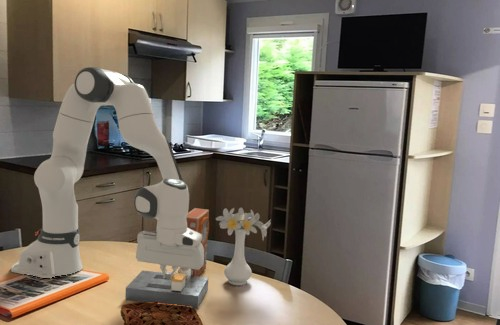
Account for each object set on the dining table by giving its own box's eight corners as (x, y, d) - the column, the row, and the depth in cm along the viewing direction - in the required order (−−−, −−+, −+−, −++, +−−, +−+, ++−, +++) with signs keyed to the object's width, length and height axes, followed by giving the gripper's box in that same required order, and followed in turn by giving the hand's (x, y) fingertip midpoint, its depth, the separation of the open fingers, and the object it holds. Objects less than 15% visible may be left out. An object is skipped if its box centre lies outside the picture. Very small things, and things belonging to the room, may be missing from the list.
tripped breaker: (171, 290, 138) (171, 278, 138) (175, 284, 143) (175, 273, 142) (181, 291, 138) (181, 279, 138) (185, 285, 142) (185, 274, 142)
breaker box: (125, 300, 139) (125, 275, 138) (142, 282, 153) (142, 259, 152) (197, 308, 137) (198, 283, 136) (207, 289, 151) (208, 266, 149)
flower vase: (266, 291, 152) (272, 217, 148) (210, 287, 152) (214, 213, 148) (266, 276, 165) (271, 207, 161) (214, 272, 165) (218, 203, 161)
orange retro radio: (209, 265, 171) (196, 281, 156) (190, 263, 172) (176, 278, 158) (212, 208, 168) (199, 219, 153) (193, 206, 169) (178, 217, 154)
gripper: (133, 232, 136) (131, 277, 138) (202, 242, 134) (198, 287, 136) (141, 226, 142) (139, 269, 145) (207, 235, 140) (203, 279, 142)
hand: (168, 278), depth 140 cm, fingers closed
